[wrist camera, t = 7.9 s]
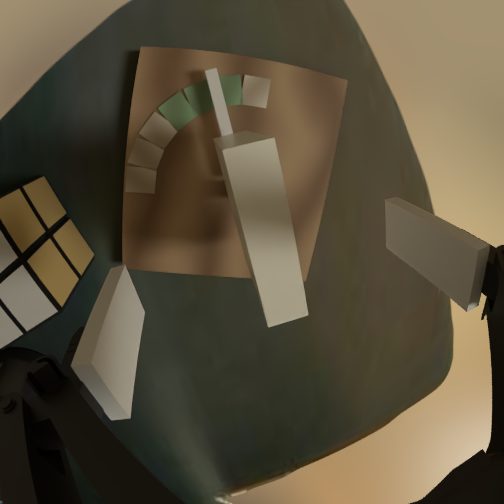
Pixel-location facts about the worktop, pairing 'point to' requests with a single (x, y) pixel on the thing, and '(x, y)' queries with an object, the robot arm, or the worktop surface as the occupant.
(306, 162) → the brown square board
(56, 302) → the puzzle cube
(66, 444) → the robot arm
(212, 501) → the worktop surface
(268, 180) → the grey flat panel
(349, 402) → the worktop surface
